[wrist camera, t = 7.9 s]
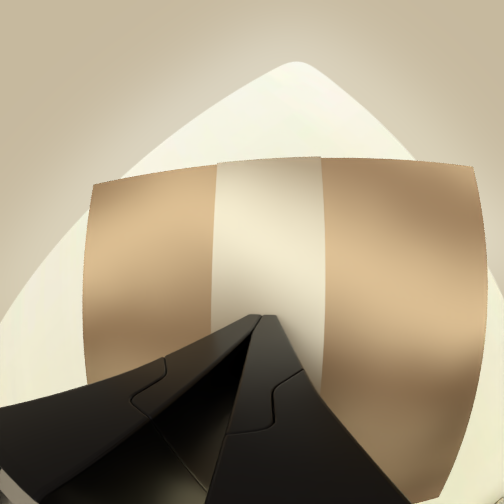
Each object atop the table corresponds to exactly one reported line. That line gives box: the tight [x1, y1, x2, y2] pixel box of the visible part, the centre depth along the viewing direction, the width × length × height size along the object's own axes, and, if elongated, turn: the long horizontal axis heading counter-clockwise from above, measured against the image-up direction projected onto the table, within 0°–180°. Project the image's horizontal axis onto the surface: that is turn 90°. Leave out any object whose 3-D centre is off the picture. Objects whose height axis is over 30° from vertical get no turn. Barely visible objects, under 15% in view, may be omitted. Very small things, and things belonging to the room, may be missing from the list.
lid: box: [83, 157, 488, 504], centre depth 9 cm, size 14×16×1 cm
